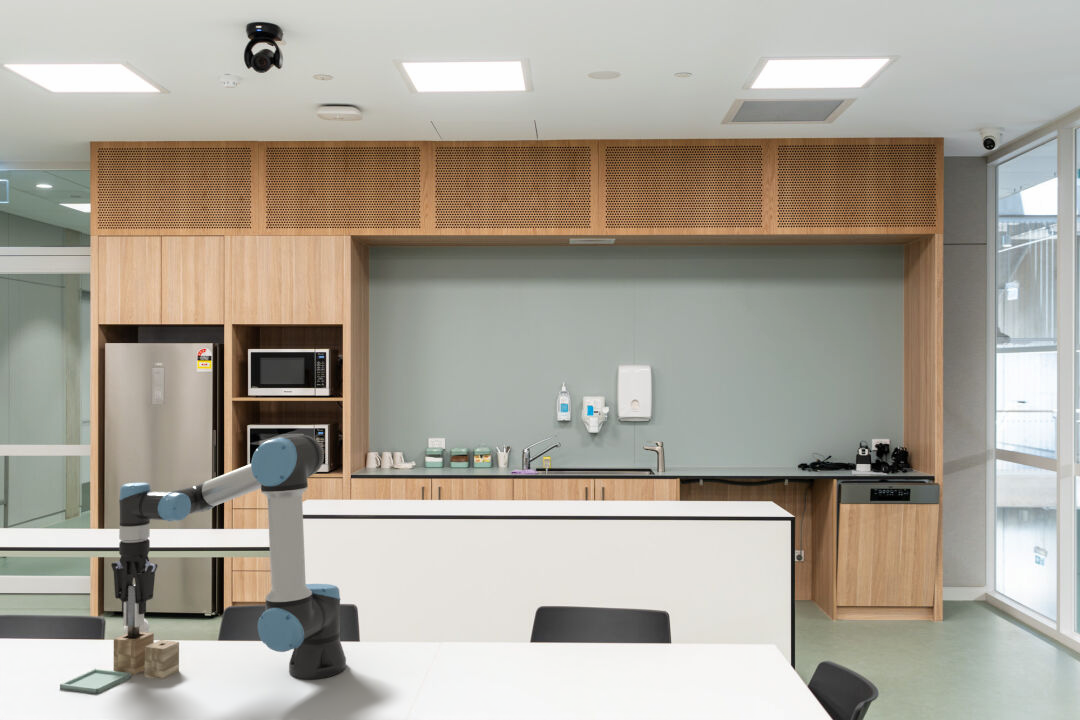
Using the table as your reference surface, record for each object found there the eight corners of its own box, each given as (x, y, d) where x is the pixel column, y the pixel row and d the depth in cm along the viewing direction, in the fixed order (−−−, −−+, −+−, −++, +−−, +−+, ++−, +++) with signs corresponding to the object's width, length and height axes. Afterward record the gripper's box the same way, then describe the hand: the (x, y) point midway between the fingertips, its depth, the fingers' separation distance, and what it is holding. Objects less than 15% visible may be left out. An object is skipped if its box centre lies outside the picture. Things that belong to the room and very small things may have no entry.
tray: (130, 677, 221) (130, 672, 221) (97, 693, 210) (97, 689, 210) (95, 673, 224) (95, 668, 224) (59, 689, 213) (59, 684, 213)
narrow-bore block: (178, 671, 226) (179, 641, 226) (163, 679, 220) (163, 649, 220) (160, 669, 227) (160, 639, 227) (144, 676, 222) (144, 647, 222)
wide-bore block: (153, 665, 230) (153, 633, 230) (135, 674, 223) (135, 641, 223) (132, 663, 232) (132, 631, 232) (113, 672, 225) (113, 639, 225)
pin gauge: (142, 638, 228) (142, 584, 229) (134, 641, 226) (134, 586, 226) (132, 637, 229) (133, 583, 229) (124, 640, 226) (125, 586, 226)
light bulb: (130, 661, 233) (130, 622, 233) (119, 656, 237) (119, 618, 237) (153, 655, 238) (153, 616, 239) (141, 650, 242) (142, 612, 243)
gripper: (168, 538, 229) (167, 623, 229) (120, 535, 233) (119, 618, 233) (149, 544, 222) (148, 631, 222) (100, 540, 226) (99, 626, 226)
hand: (133, 624), depth 227 cm, fingers closed on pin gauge, 3 cm apart
